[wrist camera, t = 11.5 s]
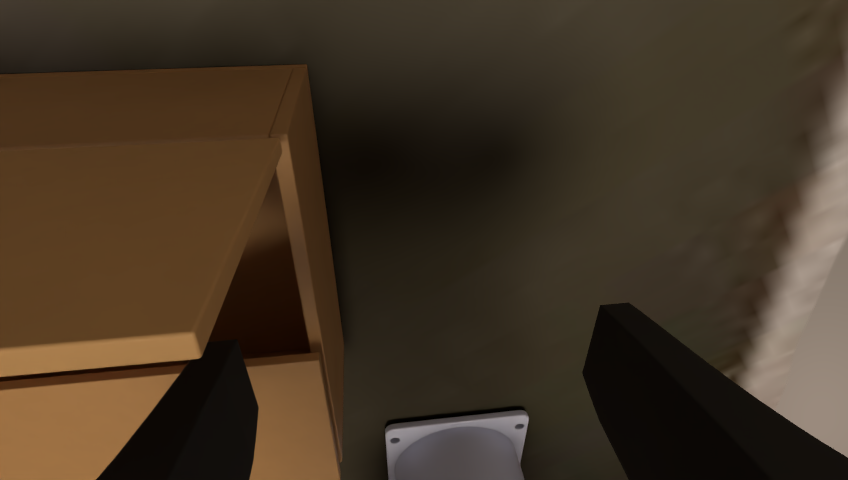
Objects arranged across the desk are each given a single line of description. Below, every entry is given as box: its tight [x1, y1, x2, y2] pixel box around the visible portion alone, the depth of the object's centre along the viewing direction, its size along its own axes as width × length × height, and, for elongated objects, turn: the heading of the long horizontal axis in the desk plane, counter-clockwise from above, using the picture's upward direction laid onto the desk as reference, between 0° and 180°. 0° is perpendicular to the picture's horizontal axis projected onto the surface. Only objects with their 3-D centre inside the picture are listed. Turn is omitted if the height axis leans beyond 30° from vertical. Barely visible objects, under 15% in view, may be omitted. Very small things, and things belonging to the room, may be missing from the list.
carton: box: [0, 64, 344, 480], centre depth 16 cm, size 13×13×7 cm
